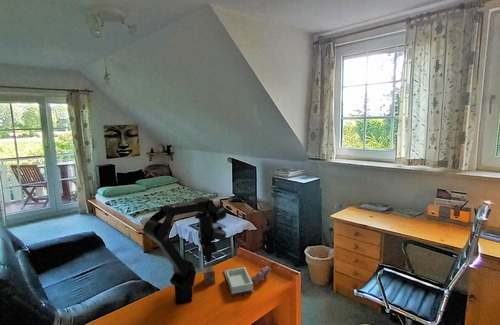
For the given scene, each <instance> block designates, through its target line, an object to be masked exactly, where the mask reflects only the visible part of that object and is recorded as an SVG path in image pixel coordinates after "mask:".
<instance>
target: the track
mask: <svg viewBox="0 0 500 325" xmlns="http://www.w3.org/2000/svg"><path fill="white" fill-rule="evenodd" d="M237 268H238V267H236V268H234V269H237ZM239 268H242V266H241V267H239ZM231 269H232V268H230V269H229V268H228V270H231ZM226 270H227V269H224V270H223V274H224V276H225V277H224V278H225V279H226V283H227V286H228V288H229V290H230V293H231V294H230V295H231V296H232V298H233V297H238V296H242V295H247V294H252V293H254V289H253V290H250V291H245V292H240V293H235V294H232V292H231V289H230V286H229V283H228V281H227V278H226Z"/></svg>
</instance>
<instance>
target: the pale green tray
mask: <svg viewBox="0 0 500 325" xmlns="http://www.w3.org/2000/svg"><path fill="white" fill-rule="evenodd" d="M241 267H242V266H241ZM236 268H237V269H235V268H230V269H231V270H229V269H225V270H226V277H225V279H226V278H227V280H226V282H227V281H228V283H229V286H230V289H231V292H232V294H235V293H240V292H245V291H250V290H253V291H254V283H253V282H252V280H251V278H252V277H251V276H250V275H249V273H248V270H247V268H246V267H245V266H243V267H242V268H240V267H236ZM228 283H227V284H228ZM229 286H228V287H229ZM230 289H229V290H230ZM231 292H230V293H231ZM232 294H231V295H232Z"/></svg>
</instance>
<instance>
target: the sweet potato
mask: <svg viewBox="0 0 500 325" xmlns="http://www.w3.org/2000/svg"><path fill="white" fill-rule="evenodd" d="M271 271H272V268H271V267H270V266H268V265H266V266H264V267H262V268H260V270H259V271H258V272H257V273H256V275H254V276H252V277H250V278H251V280H252V282H253V284H255V283H258V282H262V281H263V280H264V279H266V278H267V277H268V274H269V273H270V272H271Z"/></svg>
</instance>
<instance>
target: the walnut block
mask: <svg viewBox="0 0 500 325" xmlns="http://www.w3.org/2000/svg"><path fill="white" fill-rule="evenodd" d="M202 269H203V281H204V285H205V286H209V285H214V284H216V272H215V268H214V265H211V266H206V267H203V268H202Z"/></svg>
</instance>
